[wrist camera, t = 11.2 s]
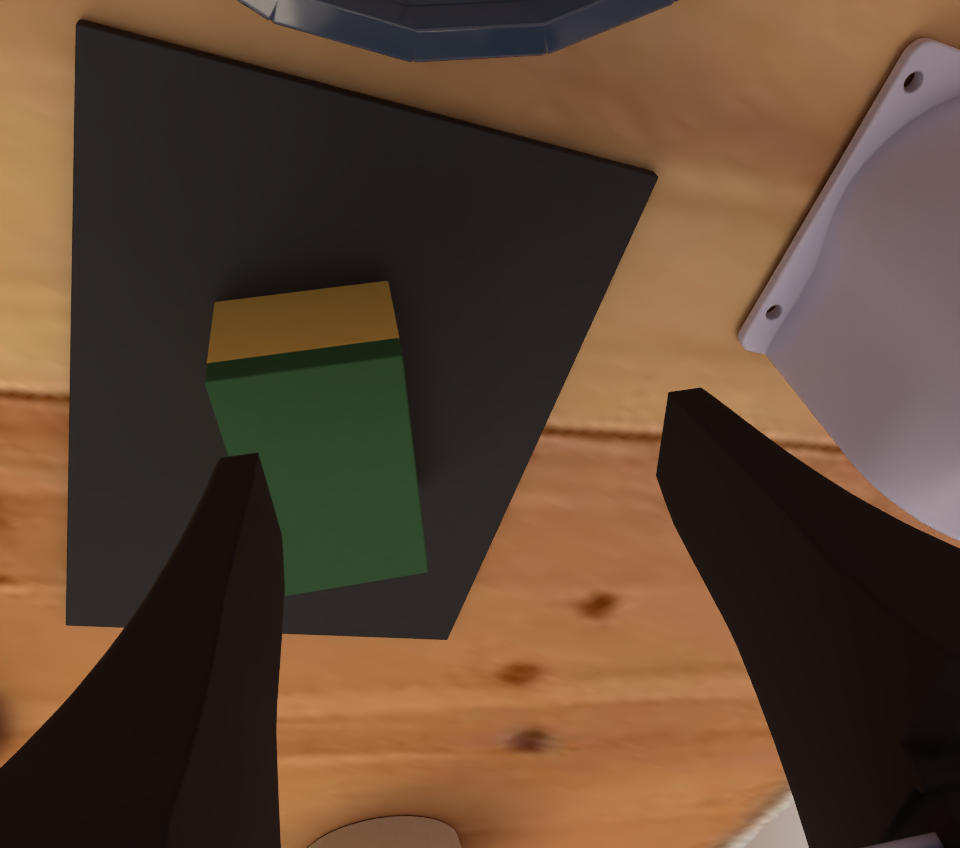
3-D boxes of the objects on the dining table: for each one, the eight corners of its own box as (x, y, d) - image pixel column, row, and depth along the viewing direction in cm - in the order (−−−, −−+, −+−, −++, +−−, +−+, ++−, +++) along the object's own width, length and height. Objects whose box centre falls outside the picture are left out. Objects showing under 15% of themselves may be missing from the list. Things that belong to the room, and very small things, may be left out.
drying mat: (446, 632, 33) (447, 640, 33) (68, 616, 28) (65, 626, 28) (654, 171, 22) (658, 176, 21) (79, 18, 17) (75, 22, 17)
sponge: (414, 489, 27) (428, 573, 24) (274, 511, 26) (273, 598, 24) (388, 279, 22) (402, 355, 19) (214, 301, 21) (203, 382, 18)
